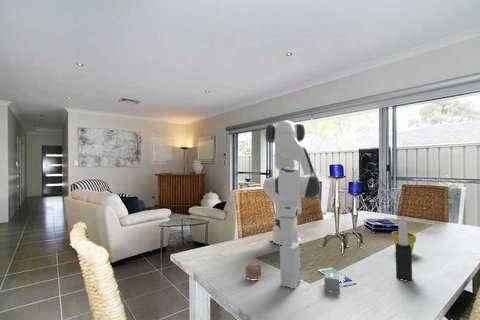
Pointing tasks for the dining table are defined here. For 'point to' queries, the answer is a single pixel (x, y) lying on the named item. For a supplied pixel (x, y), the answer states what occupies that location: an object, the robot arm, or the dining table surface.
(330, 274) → the slate block
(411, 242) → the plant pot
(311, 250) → the dining table surface
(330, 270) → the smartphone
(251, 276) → the walnut block
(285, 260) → the skincare box
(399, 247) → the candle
